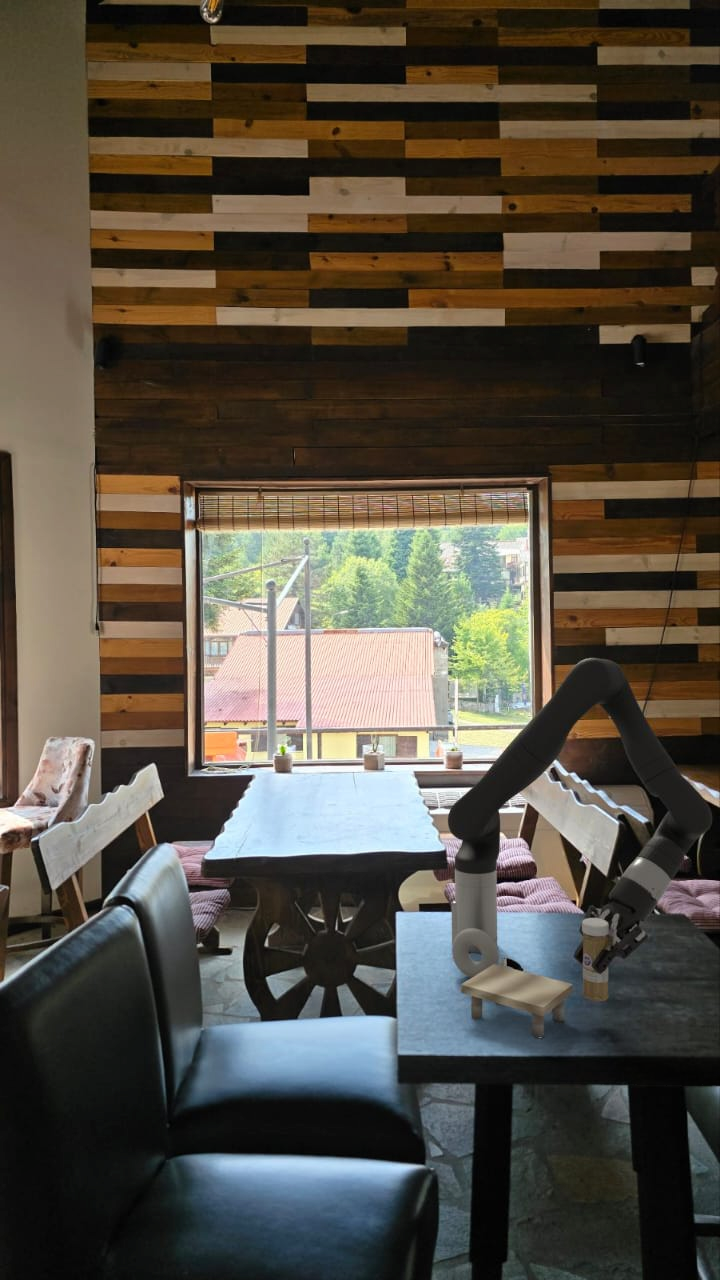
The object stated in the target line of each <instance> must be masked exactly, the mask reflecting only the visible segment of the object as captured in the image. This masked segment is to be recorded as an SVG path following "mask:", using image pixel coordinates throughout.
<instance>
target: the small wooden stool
mask: <svg viewBox="0 0 720 1280" xmlns="http://www.w3.org/2000/svg"><path fill="white" fill-rule="evenodd" d="M460 987H461V988H460V991H461V992H460V993H461V994H464V995H466V996H470V1007H471V1009H470V1012H471V1013H470V1014H471V1015H470V1016H471V1019H473V1020H482V1019H483V1014H484V1013H483V1000H484V1001H488V1002H492V1003H493V1004H496V1005H501V1006H506V1007H508V1008H513V1009H516V1010H519V1011H522V1012H526V1013H529V1014H530V1013H531V1036H532V1035H533V1036H534V1037H533V1036H532V1037H533V1038H535V1037H537V1038H536V1039H540V1038H539V1037H543V1036H544V1037H545V1016H546V1015H547V1014H548V1013H550V1012H551V1011H552V1012H551V1017H552V1020H553V1021H556V1022H563V1021H564V1020H565V1018H564V1017H565V1012H564V1009H565V1008H564V1007H565V1003H564V1001H565V1000H566V999H567V998H568V997H569V996H571V995H572V994H573V993H574V984H573V983H570V982H565V981H562V980H558V979H554V978H550V977H545V976H542V975H538V974H534V973H530V972H526V971H524V970H523V971H519V970H515V969H513V968H511V967H508V966H506V967H503V966H500V964H498V965H495V964H493V965H492V966H490V967H488V968H487V969H485V970H484V971H482V972H480V973H479V974H477V975H476V976H474V977H472V978H469V979H467V980H466V981H465V982H463V983H462V984H461V985H460ZM544 1037H543V1038H544Z"/></svg>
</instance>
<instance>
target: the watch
mask: <svg viewBox="0 0 720 1280" xmlns="http://www.w3.org/2000/svg"><path fill="white" fill-rule="evenodd" d="M499 966H503V967H507V968H511V969H515V970H519V971H523V972H524V968H523V967H522V965H521V964H520V963H518V962H517V961H515V960H514V959H512V958H508V957H503V958H502V959H501V961H500V964H499Z"/></svg>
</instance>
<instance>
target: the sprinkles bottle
mask: <svg viewBox="0 0 720 1280" xmlns="http://www.w3.org/2000/svg"><path fill="white" fill-rule="evenodd" d="M581 925H582V931H583V936H582V937H583V938H582V941H583V964H582V980H583V981H582V996H583V997H584V998H585V999H587V1000H589V1001H591V1002H603V1001H606V1000H608V999H609V997H610V996H609V966H608V967H607V969H606V970H605V971H604V972H602V974H599V973H597V972H596V971H595V970H594V969H593V968H592V964H593V962H594V961H595V959H596V958H597V957H598V955H599V954H600V952H601V951H602V949H604V950H606V949H605V946H606V943H607V941H608V933H609V924H608V922H607V921H605V920H602V919H598V918H587V919H584V918H583V920H582V923H581Z"/></svg>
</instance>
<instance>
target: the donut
mask: <svg viewBox="0 0 720 1280" xmlns="http://www.w3.org/2000/svg"><path fill="white" fill-rule="evenodd" d="M470 946H476V947H477V948H479V950H480V951H481V953H480V954H481V959H480V961H475V960H473V959H472V957H471V956H470V954H469V952H468V950H469V947H470ZM451 952H452V953H451V954H452V959H453V962H454V964H455V966H456V967H457V969H458V970H459V972H460V973H462V974H463V975H464V976H465V977H468V978H469V979H471V978H472V977H474V976H476V975H477V974H479V973H480V972H482V971H484V970H485V969H487V968H488V967H490V966H492V965H493V964H495V965H499V959H500V956H499V949H498V946H497V947H496V944H495V942H494V941H493V940H492V938H491V937H490V936H489V935H488V934H486V933H485V932H484V931H482V930H479V929H476V928H469V929H466V930H463V931H461V932H460V933H459V934H458V935H457V936H456V938H455V940H454V942H453V945H452V948H451Z"/></svg>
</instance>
